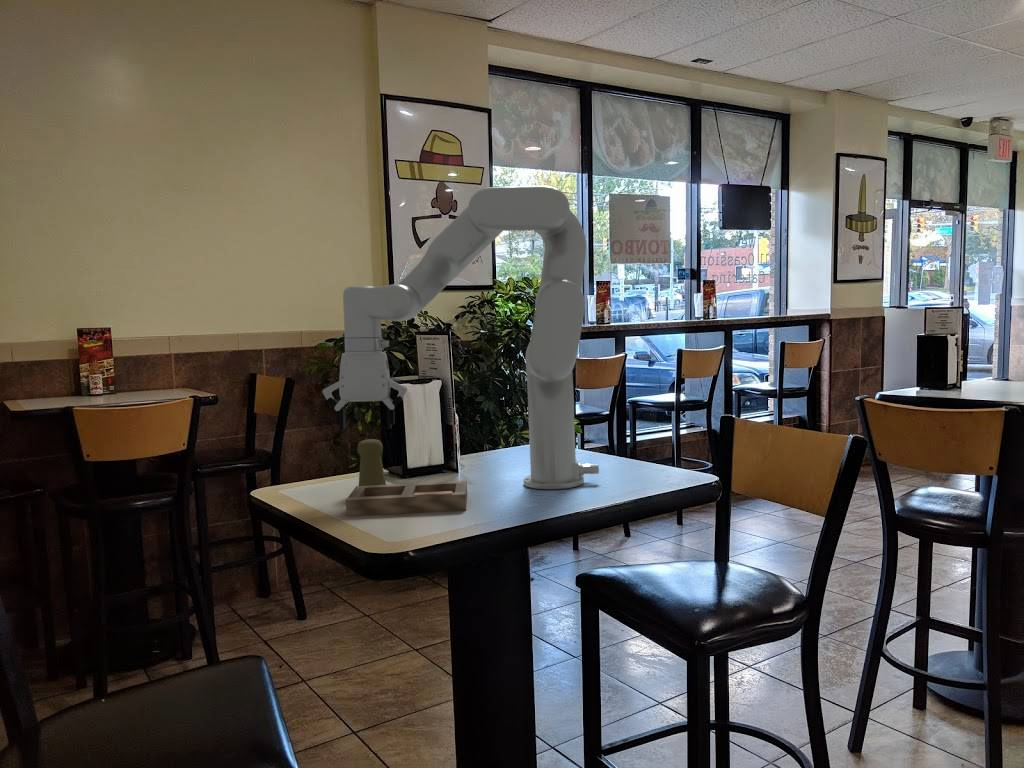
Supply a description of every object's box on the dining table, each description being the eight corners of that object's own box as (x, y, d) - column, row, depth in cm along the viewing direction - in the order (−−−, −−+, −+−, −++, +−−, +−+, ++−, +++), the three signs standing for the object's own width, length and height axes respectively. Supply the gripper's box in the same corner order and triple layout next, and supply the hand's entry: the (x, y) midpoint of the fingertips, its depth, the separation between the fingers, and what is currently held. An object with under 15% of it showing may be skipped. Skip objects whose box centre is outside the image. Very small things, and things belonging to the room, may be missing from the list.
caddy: (467, 495, 159) (466, 479, 159) (466, 510, 147) (465, 492, 147) (357, 500, 159) (356, 484, 158) (346, 516, 147) (345, 498, 146)
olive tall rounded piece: (381, 495, 163) (378, 442, 162) (353, 494, 164) (350, 442, 163) (391, 488, 169) (388, 437, 168) (364, 488, 170) (361, 437, 169)
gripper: (407, 344, 168) (409, 425, 170) (324, 346, 168) (327, 427, 169) (403, 346, 161) (406, 430, 162) (317, 348, 160) (320, 432, 162)
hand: (366, 428), depth 166 cm, fingers open, 9 cm apart
